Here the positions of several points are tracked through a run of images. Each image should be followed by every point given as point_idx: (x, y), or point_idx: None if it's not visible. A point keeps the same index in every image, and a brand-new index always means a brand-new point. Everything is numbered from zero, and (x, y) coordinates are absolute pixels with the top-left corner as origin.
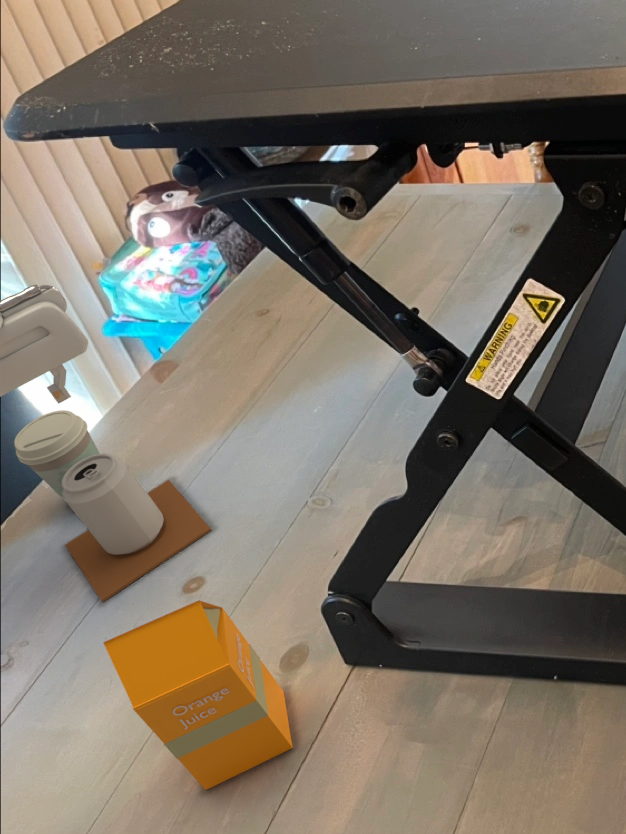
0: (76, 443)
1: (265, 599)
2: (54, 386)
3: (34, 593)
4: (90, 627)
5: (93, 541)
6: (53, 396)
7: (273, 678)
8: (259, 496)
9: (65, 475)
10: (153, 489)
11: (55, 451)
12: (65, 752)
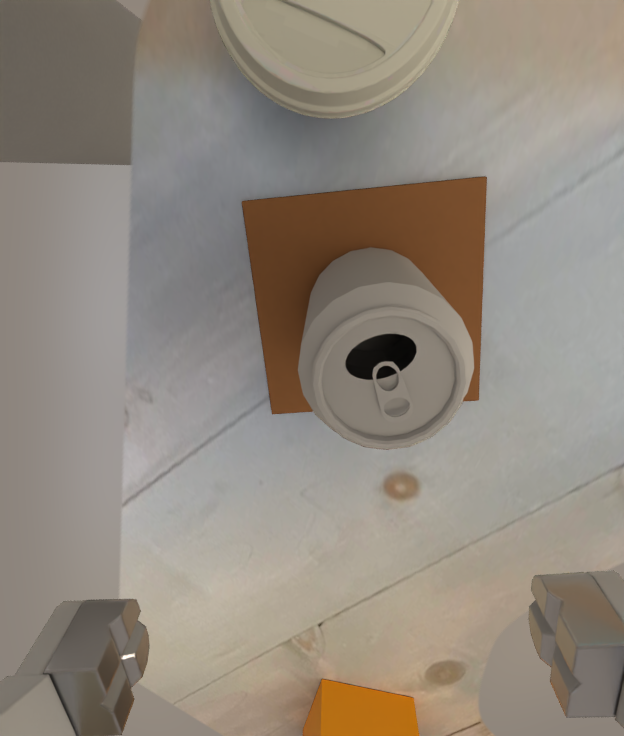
0: (396, 93)
1: (465, 582)
2: (614, 671)
3: (169, 288)
4: (244, 445)
5: (294, 246)
6: (553, 680)
7: (417, 728)
8: (581, 384)
9: (331, 344)
10: (447, 182)
11: (329, 109)
12: (181, 604)
